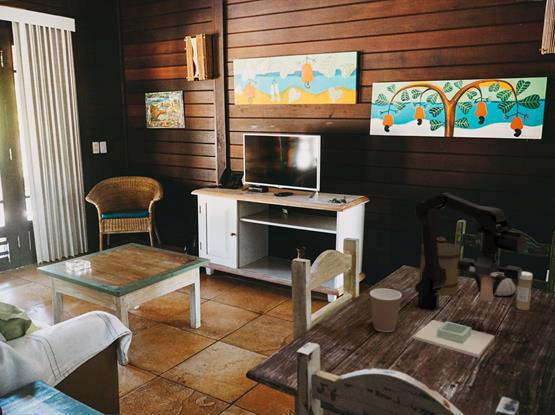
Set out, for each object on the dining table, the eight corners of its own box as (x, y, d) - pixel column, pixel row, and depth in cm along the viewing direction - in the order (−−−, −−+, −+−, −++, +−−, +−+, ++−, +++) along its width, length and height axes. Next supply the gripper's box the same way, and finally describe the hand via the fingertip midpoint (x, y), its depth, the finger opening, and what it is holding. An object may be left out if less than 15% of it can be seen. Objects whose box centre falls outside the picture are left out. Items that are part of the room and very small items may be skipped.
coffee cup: (402, 324, 165) (404, 290, 163) (396, 336, 156) (398, 301, 154) (372, 319, 170) (374, 286, 167) (365, 331, 160) (366, 296, 158)
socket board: (413, 338, 155) (413, 328, 154) (432, 322, 167) (433, 312, 166) (478, 357, 142) (479, 346, 142) (494, 338, 154) (494, 328, 154)
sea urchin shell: (472, 288, 200) (473, 269, 199) (500, 285, 204) (501, 267, 202) (493, 299, 188) (495, 280, 186) (523, 296, 191) (525, 277, 190)
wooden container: (448, 282, 207) (451, 232, 203) (463, 295, 193) (467, 241, 189) (414, 283, 207) (416, 233, 203) (426, 296, 192) (429, 241, 188)
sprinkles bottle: (532, 308, 179) (535, 273, 176) (525, 311, 176) (528, 275, 174) (520, 304, 182) (523, 270, 180) (513, 307, 180) (516, 272, 177)
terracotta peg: (478, 299, 161) (480, 276, 159) (482, 296, 164) (483, 273, 162) (491, 302, 158) (492, 278, 157) (494, 298, 161) (496, 275, 160)
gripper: (452, 247, 158) (450, 293, 160) (515, 257, 146) (511, 307, 149) (464, 241, 166) (461, 285, 169) (524, 250, 155) (519, 296, 157)
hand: (486, 293), depth 161 cm, fingers closed on terracotta peg, 4 cm apart
